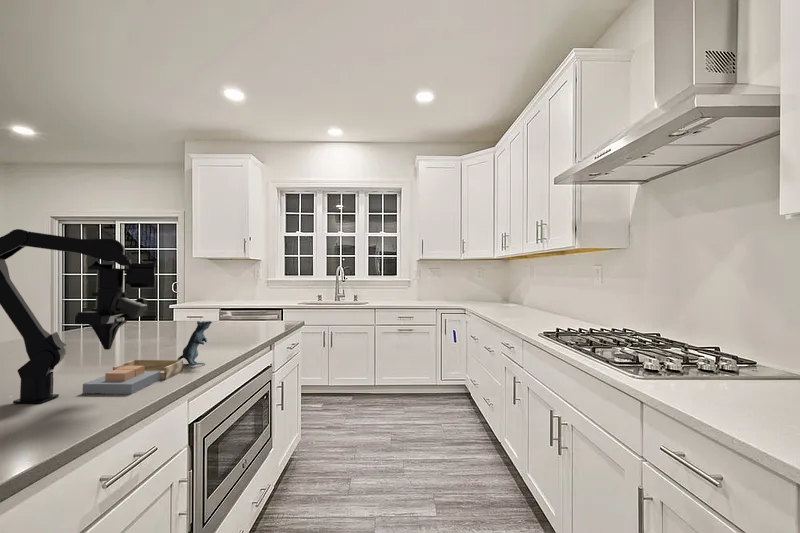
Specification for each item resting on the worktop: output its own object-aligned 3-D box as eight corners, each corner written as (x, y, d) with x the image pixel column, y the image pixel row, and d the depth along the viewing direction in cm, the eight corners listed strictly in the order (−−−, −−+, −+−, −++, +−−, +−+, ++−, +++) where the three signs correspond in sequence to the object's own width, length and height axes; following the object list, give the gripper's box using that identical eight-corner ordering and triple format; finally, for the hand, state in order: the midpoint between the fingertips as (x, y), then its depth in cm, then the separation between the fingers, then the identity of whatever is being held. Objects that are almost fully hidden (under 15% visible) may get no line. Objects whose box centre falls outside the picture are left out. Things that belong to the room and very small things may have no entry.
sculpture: (203, 367, 151) (205, 322, 152) (171, 366, 151) (173, 321, 152) (214, 362, 160) (215, 320, 160) (183, 362, 160) (185, 319, 160)
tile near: (124, 381, 120) (125, 373, 120) (105, 380, 119) (105, 373, 119) (134, 376, 125) (134, 369, 125) (115, 376, 124) (115, 369, 124)
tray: (165, 379, 133) (166, 367, 133) (112, 379, 132) (112, 367, 132) (182, 371, 145) (182, 360, 145) (133, 370, 144) (134, 359, 144)
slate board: (131, 394, 116) (131, 384, 116) (82, 393, 116) (82, 384, 116) (159, 379, 132) (160, 371, 132) (117, 379, 132) (117, 371, 132)
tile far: (135, 376, 125) (135, 369, 125) (116, 376, 125) (116, 369, 125) (144, 372, 130) (144, 365, 130) (126, 372, 130) (126, 365, 130)
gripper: (122, 289, 107) (120, 356, 107) (159, 288, 126) (157, 344, 126) (73, 288, 107) (70, 355, 106) (117, 287, 125) (115, 343, 125)
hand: (107, 349), depth 116 cm, fingers closed
